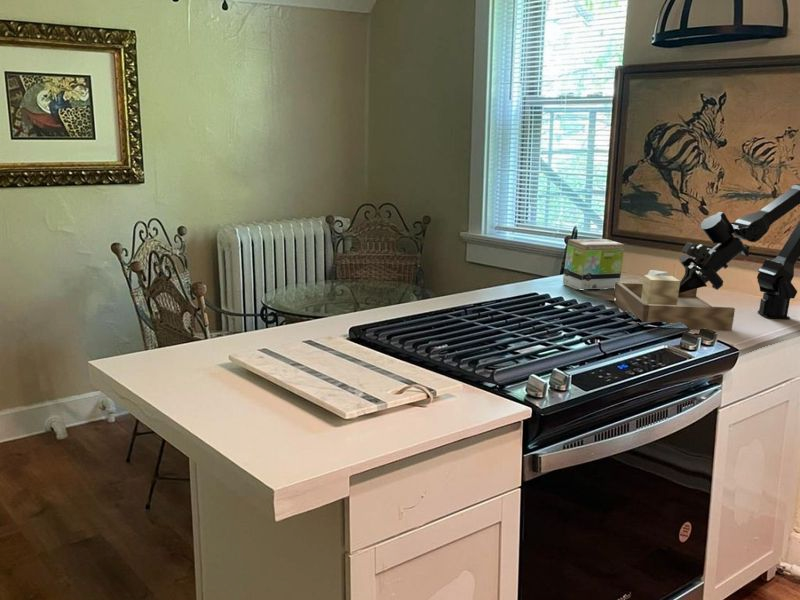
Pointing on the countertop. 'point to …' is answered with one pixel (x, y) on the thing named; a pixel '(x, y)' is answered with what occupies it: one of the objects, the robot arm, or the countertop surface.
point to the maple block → (660, 290)
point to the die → (658, 273)
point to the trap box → (674, 309)
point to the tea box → (593, 263)
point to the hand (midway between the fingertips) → (675, 292)
